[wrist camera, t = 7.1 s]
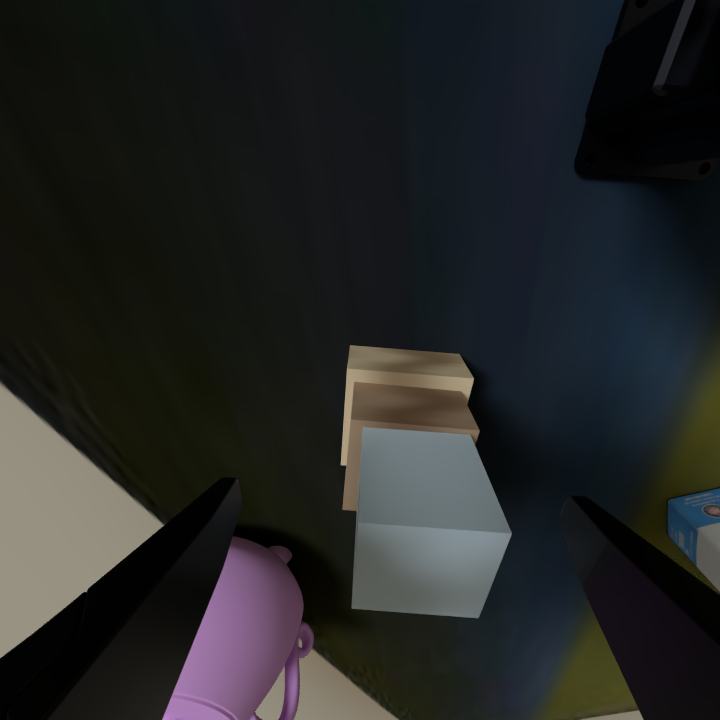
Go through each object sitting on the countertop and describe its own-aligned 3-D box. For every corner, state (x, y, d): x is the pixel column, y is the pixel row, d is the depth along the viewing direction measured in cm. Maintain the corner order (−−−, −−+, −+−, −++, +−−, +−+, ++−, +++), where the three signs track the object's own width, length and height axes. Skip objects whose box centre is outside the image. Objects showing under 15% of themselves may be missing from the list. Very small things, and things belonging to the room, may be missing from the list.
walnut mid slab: (460, 391, 18) (479, 430, 15) (439, 470, 21) (452, 518, 17) (354, 381, 18) (350, 419, 15) (346, 462, 21) (342, 509, 17)
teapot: (101, 557, 31) (-54, 760, 20) (142, 463, 25) (-40, 669, 14) (287, 623, 35) (249, 822, 24) (356, 554, 30) (348, 769, 18)
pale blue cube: (470, 434, 15) (511, 533, 10) (451, 509, 17) (478, 618, 13) (363, 427, 15) (358, 522, 10) (357, 502, 17) (351, 608, 13)
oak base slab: (458, 352, 21) (474, 378, 18) (438, 437, 24) (449, 473, 21) (350, 343, 21) (347, 368, 18) (344, 430, 24) (340, 464, 21)
